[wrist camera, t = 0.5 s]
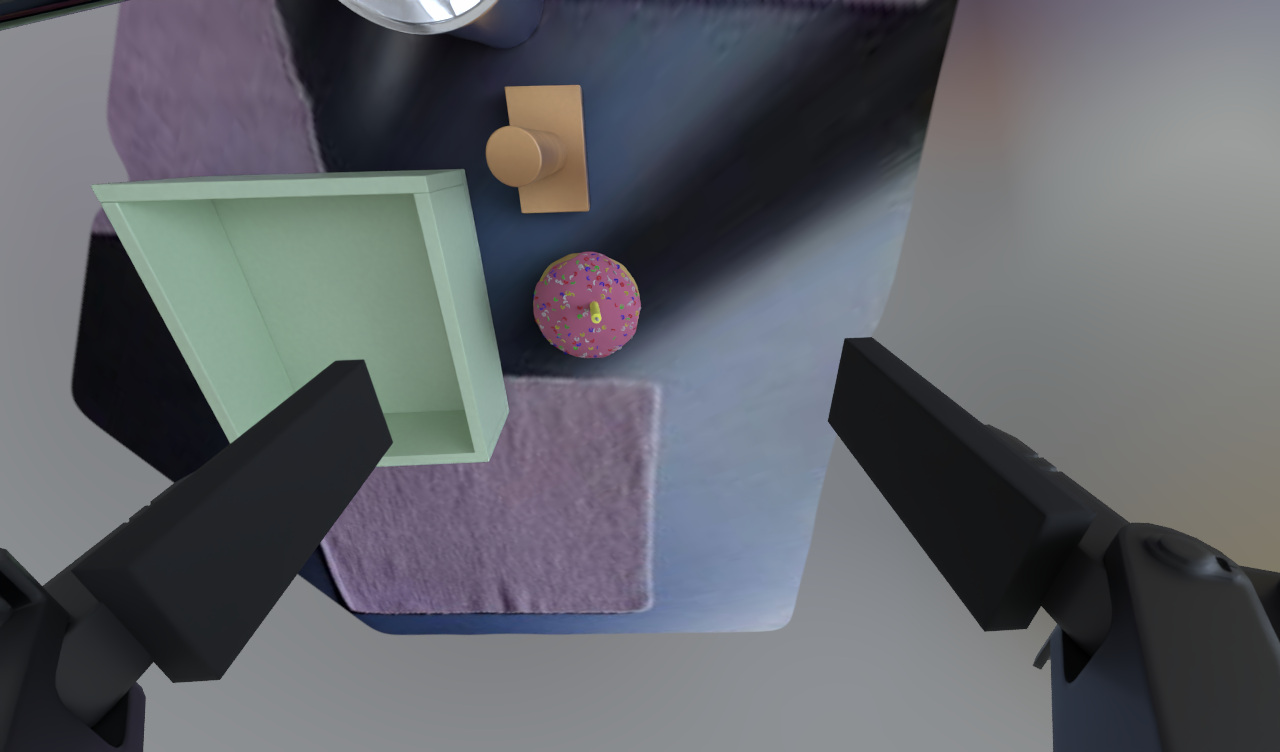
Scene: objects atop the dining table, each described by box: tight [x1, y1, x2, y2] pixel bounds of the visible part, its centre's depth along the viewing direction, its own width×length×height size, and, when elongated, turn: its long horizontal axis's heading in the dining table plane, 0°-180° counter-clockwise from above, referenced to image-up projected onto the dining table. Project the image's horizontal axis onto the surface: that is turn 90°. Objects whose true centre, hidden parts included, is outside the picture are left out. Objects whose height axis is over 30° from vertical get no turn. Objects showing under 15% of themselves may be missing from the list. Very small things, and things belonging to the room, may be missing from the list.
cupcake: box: [533, 252, 641, 358], centre depth 34 cm, size 9×8×12 cm
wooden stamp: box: [486, 85, 591, 213], centre depth 28 cm, size 8×5×15 cm, turn 1°
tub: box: [91, 169, 509, 467], centre depth 36 cm, size 22×20×8 cm
